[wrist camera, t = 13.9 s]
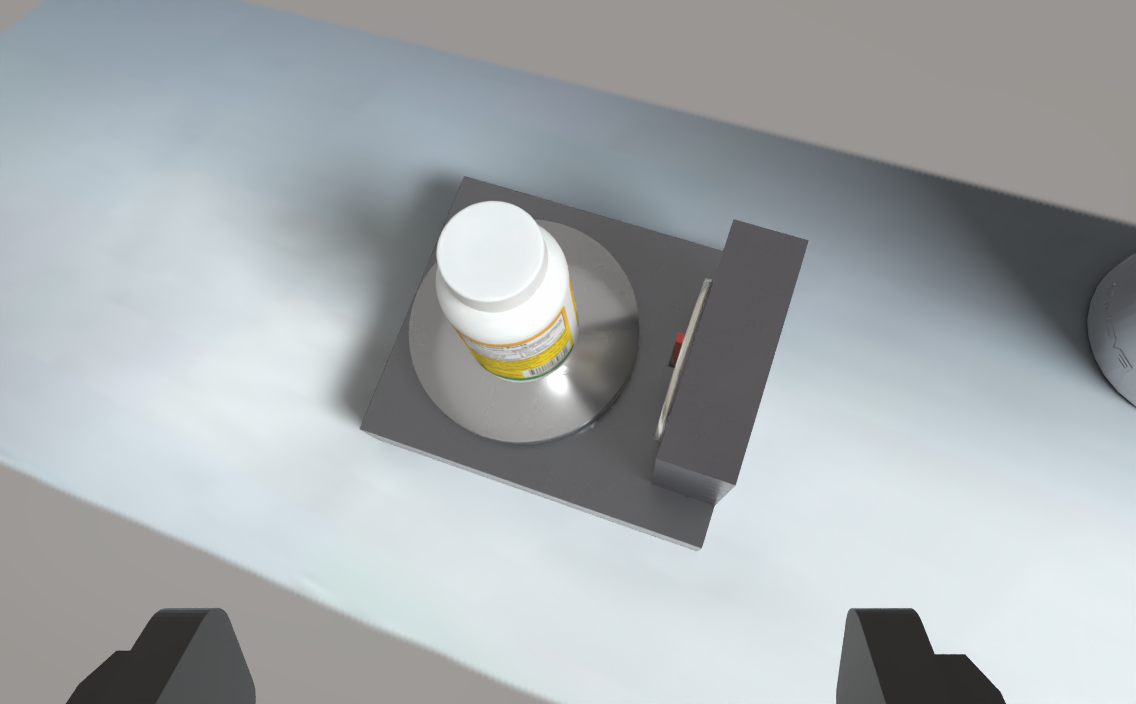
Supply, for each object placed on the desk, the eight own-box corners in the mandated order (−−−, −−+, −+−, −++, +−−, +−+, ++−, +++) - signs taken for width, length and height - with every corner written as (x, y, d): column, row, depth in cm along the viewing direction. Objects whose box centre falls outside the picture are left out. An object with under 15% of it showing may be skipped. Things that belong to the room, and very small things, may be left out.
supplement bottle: (563, 396, 38) (539, 337, 29) (453, 369, 39) (397, 303, 30) (592, 289, 40) (579, 199, 30) (486, 265, 40) (441, 170, 31)
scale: (775, 290, 43) (821, 195, 33) (696, 550, 40) (719, 539, 30) (474, 201, 46) (428, 87, 35) (377, 439, 43) (294, 391, 32)
